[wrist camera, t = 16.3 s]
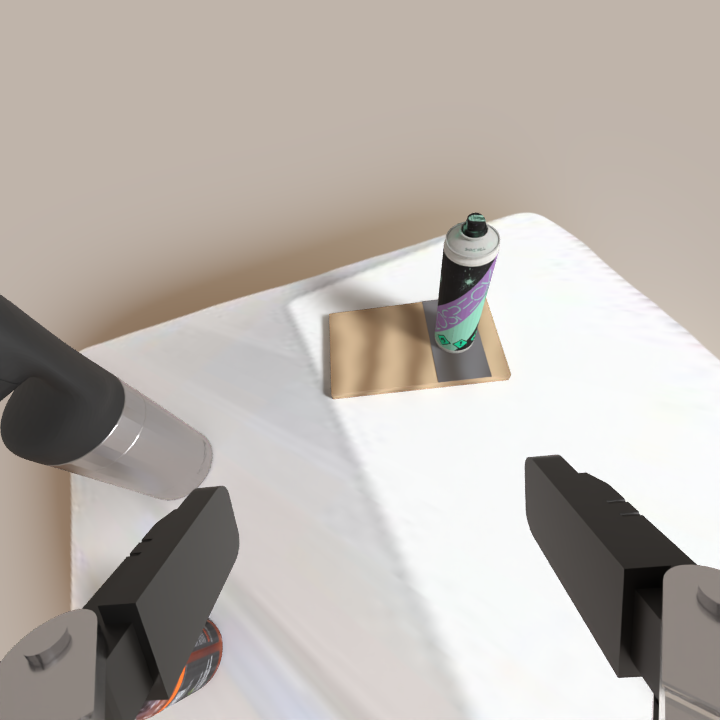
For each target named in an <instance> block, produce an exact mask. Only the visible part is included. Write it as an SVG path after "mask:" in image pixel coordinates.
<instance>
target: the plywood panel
mask: <svg viewBox="0 0 720 720" xmlns="http://www.w3.org/2000/svg"><path fill="white" fill-rule="evenodd" d="M437 307H438V300H431V301H423V302H418V303H411V304H403V305H395V306H387V307H379V308H371V309H363V310H356V311H348V312H340V313H332V314H329V323H330V362H331V395H332V397H333V399H340V398H349V397H358V396H367V395H376V394H385V393H394V392H403V391H412V390H421V389H430V388H439V387H448V386H457V385H467V384H476V383H485V382H494V381H503V380H509V378H510V376H511V373H510V370H509V367H508V364H507V360H506V357H505V354H504V351H503V348H502V345H501V342H500V339H499V336H498V333H497V330H496V327H495V324H494V321H493V317H492V314H491V311H490V308H489V305H488V302H487V299H485V302H484V306H483V310H482V313H481V317H480V321H479V324H478V328H477V332H476V335H475V339H474V342H473V344H472V346H471V347H470V348H469V349H468V350H466V351H464V352H461V353H449V352H446V351H444V350H442V349H441V348H440V347H439V346H438V345H437V343H436V341H435V327H436V317H437Z"/></svg>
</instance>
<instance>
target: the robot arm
mask: <svg viewBox="0 0 720 720" xmlns="http://www.w3.org/2000/svg"><path fill="white" fill-rule="evenodd" d="M13 390H14V392H13V393H12V395H11V397H10V399H9V400H8V403H7V404H6V407H5V409H4V412H3V416H2V419H1V427H0V428H1V436H2V440H3V442H4V444H5V446H6V447H7V448H8V449H9V450H10V451H11V452H13V453H14V454H15V455H17V456H19V457H21V458H24V459H27V460H30V461H33V462H37V463H40V464H44V465H48V466H51V467H55V468H58V469H61V470H65V471H68V472H72V473H75V474H79V475H82V476H85V477H89V478H92V479H95V480H99V481H102V482H105V483H109V484H112V485H115V486H119V487H122V488H125V489H129V490H132V491H135V492H139V493H142V494H145V495H148V496H152V497H155V498H158V499H163V500H176V499H179V498H182V497H184V496H186V495H188V494H189V495H188V497H187V498H186V499H185V500H184V501H183V503H182V504H181V505H180V506H179V508H178V509H175V510H173V511H172V512H171V513H169V514H168V515H167V516H165V517H164V518H163V519H161V520H160V521H159V522H157V523H156V524H155V525H154V526H153V527H152V528H151V530H150V531H149V532H148V533H147V534H146V535H145V537H144V538H143V539H142V542H141V543H139V544H138V545H137V546H136V547H135V548H134V549H133V550H132V552H131V553H130V557H126V559H125V560H124V561H123V562H122V563H121V564H120V566H119V567H118V568H117V569H116V570H115V571H114V572H113V574H112V575H111V576H110V577H109V578H108V579H107V581H106V582H105V583H104V584H103V585H102V586H101V588H100V589H99V590H98V591H97V592H96V593H95V595H94V596H93V597H92V598H91V599H90V600H89V601H88V603H87V604H86V605H85V606H84V607H83V608H82V609H78V610H73V611H69V612H66V613H63V614H61V615H59V616H57V617H54V618H52V619H50V620H48V621H47V622H45V623H43V624H42V625H40V626H39V627H37V628H35V629H34V630H33V631H31V632H30V633H29V634H27V635H26V636H25V637H24V638H22V639H21V640H20V641H19V642H18V643H17V644H16V645H15V646H14V647H13V648H12V649H11V650H10V651H9V652H8V653H7V654H6V656H5V657H4V658H3V659H2V661H0V720H136V717H137V715H138V713H139V711H140V709H141V707H142V705H143V703H144V702H145V701H153V700H169V699H170V697H171V695H172V693H173V691H174V688H175V686H176V684H177V682H178V680H179V678H180V676H181V674H182V672H183V670H184V668H185V665H186V663H187V661H188V659H189V657H190V655H191V653H192V651H193V649H194V647H195V644H196V642H197V640H198V638H199V636H200V634H201V632H202V630H203V628H204V626H205V624H206V621H207V619H208V617H209V615H210V613H211V611H212V609H213V607H214V605H215V603H216V601H217V598H218V596H219V594H220V592H221V590H222V588H223V586H224V584H225V582H226V580H227V577H228V575H229V573H230V571H231V569H232V567H233V565H234V563H235V561H236V558H237V555H238V550H239V533H238V529H237V525H236V521H235V517H234V513H233V509H232V504H231V500H230V496H229V493H228V490H227V489H226V487H224V486H216V487H205V488H197V487H198V486H199V485H200V484H201V483H202V482H203V480H204V479H205V477H206V476H207V474H208V472H209V469H210V467H211V463H212V448H211V445H210V443H209V441H208V439H207V438H206V437H205V436H204V435H202V434H201V433H199V432H198V431H196V430H195V429H194V428H192V427H191V426H189V425H188V424H186V423H185V422H183V421H182V420H180V419H179V418H177V417H176V416H174V415H173V414H171V413H170V412H169V411H167V410H166V409H164V408H163V407H161V406H160V405H158V404H157V403H155V402H154V401H152V400H151V399H149V398H148V397H146V396H145V395H143V394H142V393H140V392H139V391H137V390H135V389H134V388H132V387H131V386H129V385H128V384H126V383H125V382H123V381H122V380H120V379H119V378H117V377H116V376H114V375H113V374H111V373H110V372H108V371H107V370H105V369H103V368H102V367H100V366H99V365H97V364H96V363H94V362H92V361H91V360H89V359H88V358H86V357H85V356H83V355H82V354H80V353H79V352H77V351H76V350H74V349H73V348H71V347H70V346H68V345H67V344H66V343H64V342H63V341H61V340H60V339H58V338H57V337H56V336H55V335H53V334H52V333H51V332H49V331H48V330H47V329H45V328H44V327H43V326H41V325H40V324H39V323H37V322H36V321H35V320H33V319H32V318H31V317H29V316H28V315H27V314H26V313H24V312H23V311H22V310H21V309H19V308H18V307H17V306H15V305H14V304H13V303H11V302H10V301H9V300H7V299H6V298H4V297H3V296H2V295H0V401H1V400H2V399H3V398H5V397H6V396H7V395H9V394H10V393H11V392H12V391H13ZM525 499H526V516H527V520H528V524H529V527H530V530H531V533H532V535H533V537H534V538H535V540H536V542H537V543H538V545H539V547H540V548H541V550H542V552H543V553H544V555H545V557H546V558H547V560H548V562H549V563H550V565H551V567H552V568H553V570H554V572H555V573H556V575H557V577H558V578H559V580H560V582H561V583H562V585H563V587H564V588H565V590H566V592H567V593H568V595H569V597H570V598H571V600H572V602H573V603H574V605H575V607H576V608H577V610H578V612H579V613H580V615H581V617H582V618H583V620H584V622H585V623H586V625H587V627H588V628H589V630H590V632H591V633H592V635H593V637H594V638H595V640H596V642H597V643H598V645H599V647H600V648H601V650H602V652H603V653H604V655H605V657H606V658H607V660H608V662H609V663H610V665H611V667H612V668H613V670H614V672H615V673H616V675H617V677H618V678H624V677H643V678H644V680H645V681H646V683H647V684H648V686H649V687H650V689H651V690H652V692H653V701H652V720H720V570H718V569H714V568H711V567H706V566H700V565H697V564H696V563H694V562H693V561H692V560H691V559H690V558H689V557H688V556H687V555H686V554H685V553H684V552H682V551H681V550H680V549H679V548H678V547H677V546H676V545H675V544H674V543H673V542H671V541H670V540H669V539H668V538H667V537H666V536H665V535H664V534H663V533H662V532H660V531H659V530H658V529H657V528H656V527H655V526H654V525H653V524H652V523H651V522H649V521H648V520H647V519H646V518H645V517H644V516H643V515H640V514H639V512H638V511H637V510H636V509H635V508H634V507H633V506H632V505H631V504H630V503H629V502H625V499H624V498H623V497H622V496H621V495H620V494H619V493H618V492H616V491H615V490H614V489H613V488H612V487H611V486H610V485H609V484H607V483H605V482H603V481H601V480H599V479H597V478H596V477H594V476H592V475H590V474H588V473H578V472H577V471H576V470H575V469H574V468H573V467H572V466H570V465H569V464H568V463H567V462H566V461H565V460H564V459H563V458H562V457H561V456H560V455H548V456H537V457H528V458H527V459H526V461H525Z"/></svg>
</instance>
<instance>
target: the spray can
mask: <svg viewBox="0 0 720 720" xmlns="http://www.w3.org/2000/svg"><path fill="white" fill-rule="evenodd" d="M499 244H500V236H499V234H498V232H497V231H496V229H495V228H493V227H492V226H490V225H488V224H486V223H485V218H484V217H483V215H481V214H479V213H472V214H470V215H469V216H468V218H467V220H466V222H462V223H459V224H457V225H455V226H453V227H452V228H451V229H450V230H449V231H448V233H447V234H446V239H445V242H444V249H443V259H442V268H441V278H440V288H439V298H438V307H437V317H436V327H435V341H436V343H437V345H438V346H439V347H440V348H441V349H442V350H444V351H446V352H449V353H461V352H464V351H466V350H468V349H469V348H470V347H471V346H472V344H473V342H474V339H475V335H476V332H477V328H478V324H479V321H480V317H481V313H482V310H483V306H484V302H485V299H486V295H487V291H488V288H489V284H490V281H491V277H492V273H493V270H494V266H495V262H496V259H497V255H498V251H499V246H500V245H499Z"/></svg>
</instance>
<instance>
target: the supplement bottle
mask: <svg viewBox="0 0 720 720" xmlns="http://www.w3.org/2000/svg"><path fill="white" fill-rule="evenodd" d="M221 657H222V637H221V634H220V632H219V630H218V628H217V627H216V625H215V624H214V623H213V622H211V621H210V620H207V621H206V624H205V626H204V628H203V630H202V632H201V634H200V636H199V638H198V640H197V642H196V644H195V647H194V649H193V651H192V653H191V655H190V657H189V659H188V661H187V663H186V665H185V668H184V670H183V672H182V674H181V676H180V678H179V680H178V682H177V684H176V686H175V688H174V691H173V693H172V695H171V697H170V699H169V700H153V701H145V702H144V703H143V705H142V707H141V709H140V711H139V713H138V715H137V717H136V720H145V719H147V718H150V717H152V716H154V715H155V714H157V713H159V712H161V711H163V710H164V709H166V708H168V707H170V706H171V705H173V704H175V703H177V702H178V701H180V700H182V699H183V698H185V697H187V696H188V695H190V694H192V693H194V692H196V691H197V690H199V689H200V688H202V687H203V686H204V685H206V684H207V683H208V682H209V681H210V680H211V678H212V677H213V676H214V674H215V672H216V671H217V669H218V666H219V664H220V661H221Z"/></svg>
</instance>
